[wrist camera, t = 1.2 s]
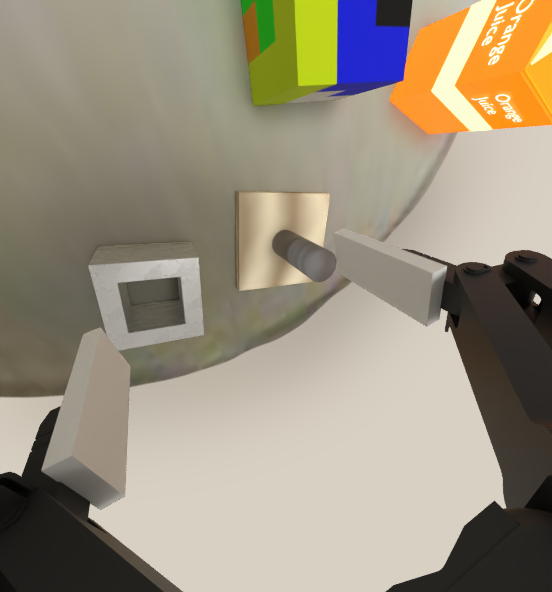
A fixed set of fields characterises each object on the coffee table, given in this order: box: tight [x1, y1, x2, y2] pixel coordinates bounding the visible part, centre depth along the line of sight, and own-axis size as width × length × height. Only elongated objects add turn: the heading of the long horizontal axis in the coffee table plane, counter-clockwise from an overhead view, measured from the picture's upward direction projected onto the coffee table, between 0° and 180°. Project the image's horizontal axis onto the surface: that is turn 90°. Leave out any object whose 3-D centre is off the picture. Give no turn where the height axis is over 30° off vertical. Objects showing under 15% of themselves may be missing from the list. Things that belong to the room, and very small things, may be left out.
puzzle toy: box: [241, 0, 412, 106], centre depth 23 cm, size 10×10×10 cm
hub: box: [88, 241, 204, 351], centre depth 29 cm, size 9×9×6 cm
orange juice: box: [389, 0, 552, 134], centre depth 26 cm, size 8×9×20 cm
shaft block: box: [236, 191, 336, 291], centre depth 31 cm, size 12×12×10 cm
